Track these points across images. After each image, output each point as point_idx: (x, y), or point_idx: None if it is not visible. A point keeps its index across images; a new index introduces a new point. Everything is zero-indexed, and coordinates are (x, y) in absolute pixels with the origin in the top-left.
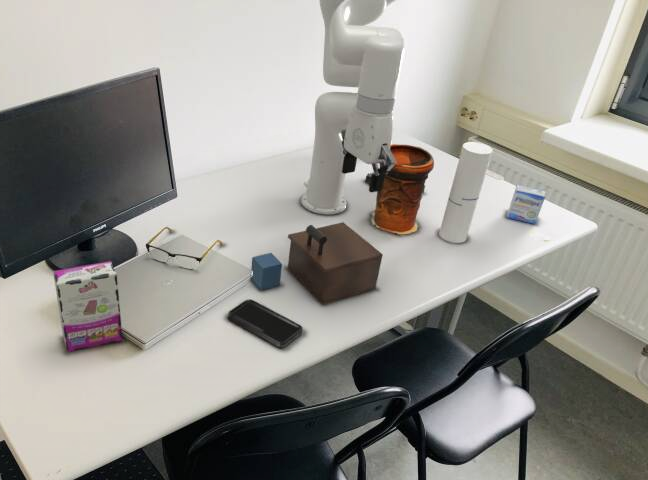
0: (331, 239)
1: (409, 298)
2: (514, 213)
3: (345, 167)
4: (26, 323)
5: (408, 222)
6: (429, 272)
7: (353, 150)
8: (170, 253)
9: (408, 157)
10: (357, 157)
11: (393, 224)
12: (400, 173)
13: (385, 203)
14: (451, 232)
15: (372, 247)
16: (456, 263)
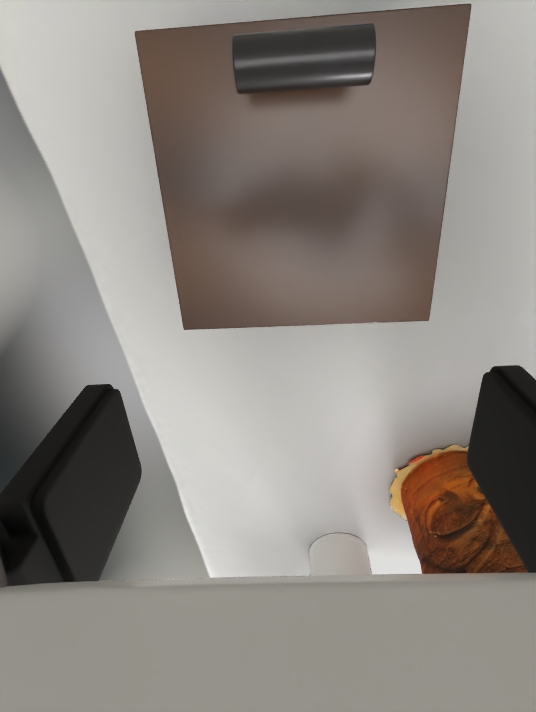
0: (340, 203)
1: (150, 341)
2: None
3: (513, 408)
4: None
5: (407, 509)
6: (233, 440)
7: (442, 696)
8: None
9: None
10: (238, 585)
11: (424, 478)
12: None
13: (474, 506)
14: (324, 557)
15: (233, 321)
16: (245, 503)
